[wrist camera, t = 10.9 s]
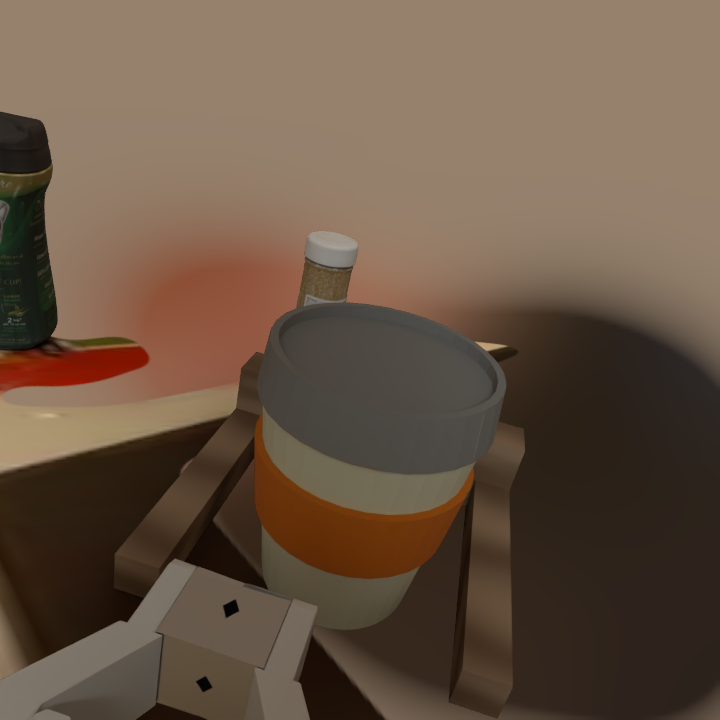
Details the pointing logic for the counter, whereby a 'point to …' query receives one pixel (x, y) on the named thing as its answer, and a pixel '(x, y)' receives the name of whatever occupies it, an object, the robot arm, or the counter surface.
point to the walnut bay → (478, 561)
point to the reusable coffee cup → (365, 452)
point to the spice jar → (327, 268)
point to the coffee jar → (24, 234)
